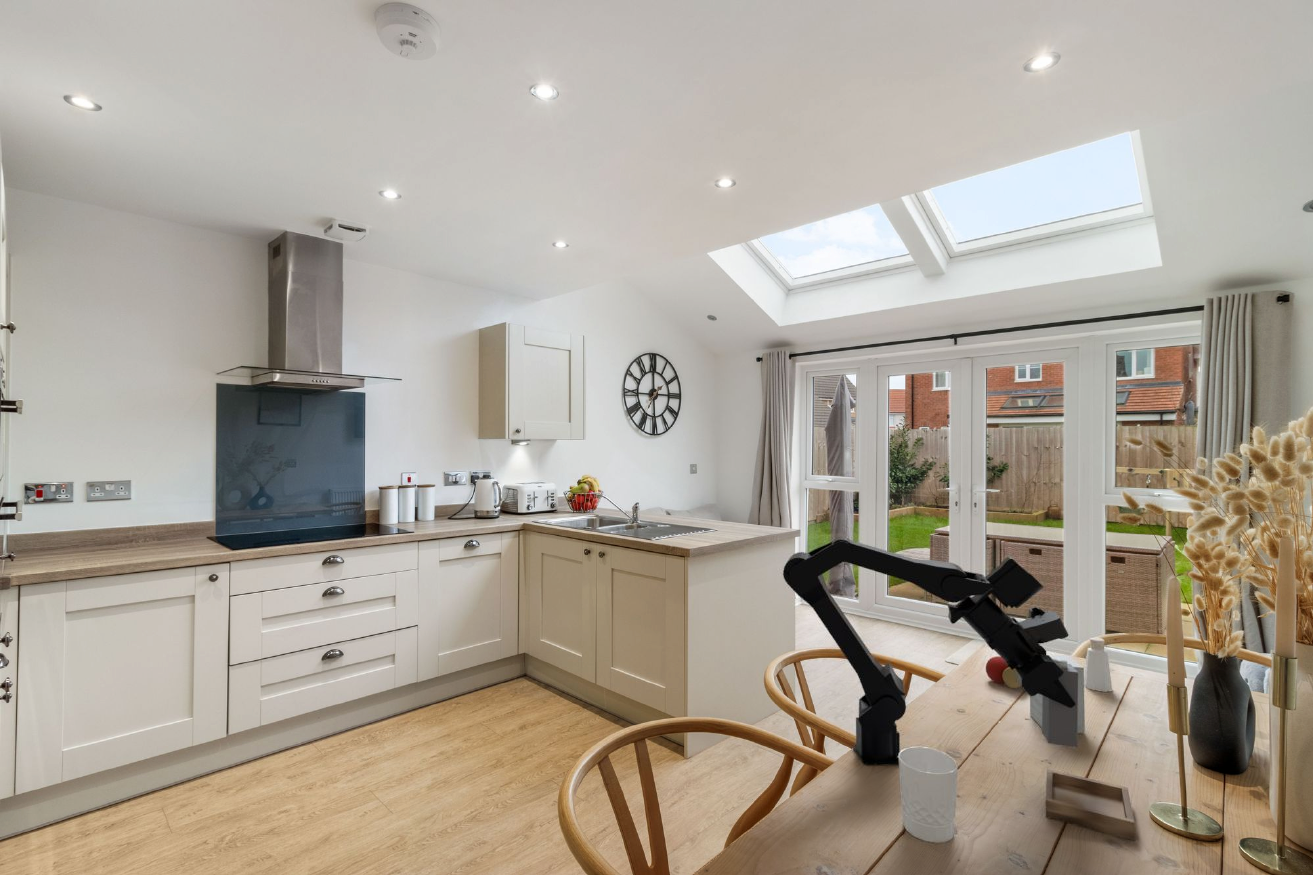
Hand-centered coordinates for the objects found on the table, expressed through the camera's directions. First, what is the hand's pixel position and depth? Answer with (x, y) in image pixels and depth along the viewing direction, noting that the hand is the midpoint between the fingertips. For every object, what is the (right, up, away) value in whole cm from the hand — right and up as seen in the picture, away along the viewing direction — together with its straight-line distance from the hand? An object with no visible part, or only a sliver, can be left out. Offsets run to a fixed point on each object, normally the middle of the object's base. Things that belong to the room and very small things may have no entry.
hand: (1069, 700), depth 103 cm
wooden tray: (-2, -13, -7) cm, 16 cm away
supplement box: (+12, -14, +22) cm, 28 cm away
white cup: (-28, -14, -12) cm, 33 cm away
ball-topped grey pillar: (-1, -7, 0) cm, 7 cm away
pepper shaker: (+32, -14, +40) cm, 53 cm away
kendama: (+16, -14, +39) cm, 44 cm away
